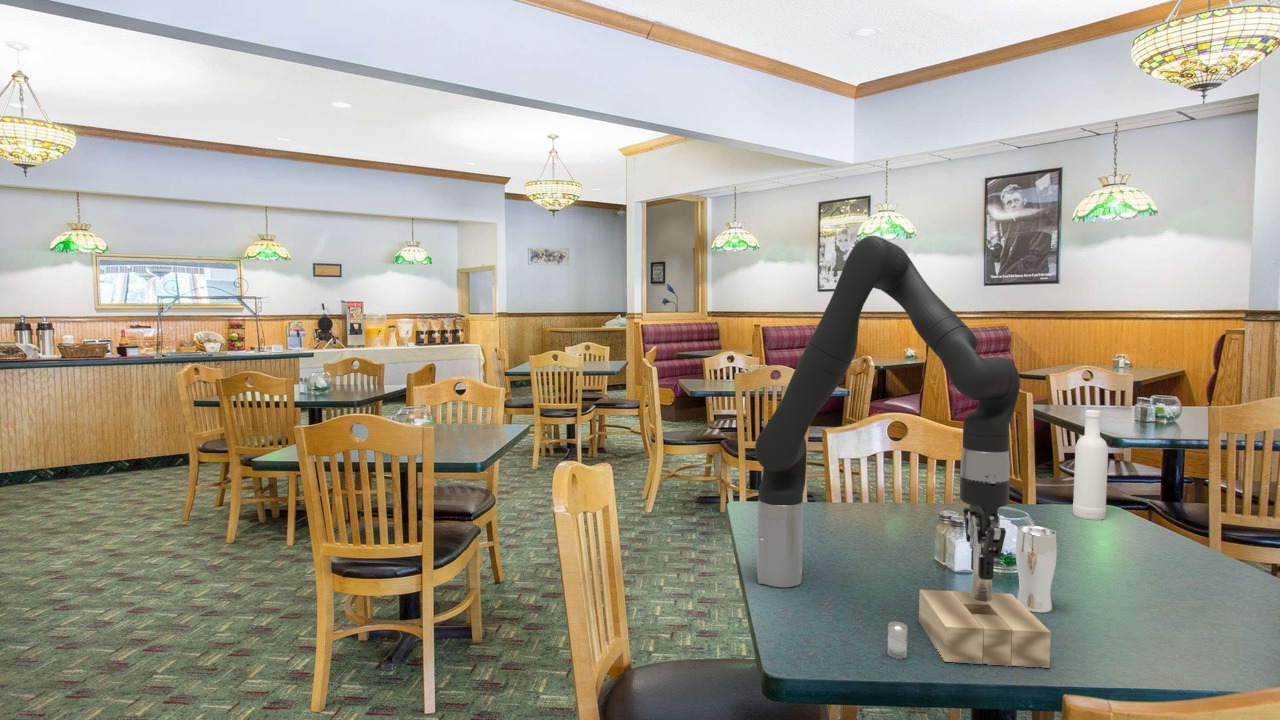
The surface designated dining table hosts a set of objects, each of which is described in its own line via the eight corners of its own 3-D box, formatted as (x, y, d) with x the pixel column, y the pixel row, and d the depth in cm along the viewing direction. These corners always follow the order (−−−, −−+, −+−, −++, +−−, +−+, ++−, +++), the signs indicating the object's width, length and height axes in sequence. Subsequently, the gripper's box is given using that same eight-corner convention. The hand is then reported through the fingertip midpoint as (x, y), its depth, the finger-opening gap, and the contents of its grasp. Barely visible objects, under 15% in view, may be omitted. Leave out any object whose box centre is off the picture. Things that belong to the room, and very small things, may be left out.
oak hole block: (944, 662, 117) (945, 626, 117) (918, 621, 133) (919, 589, 132) (1049, 668, 115) (1050, 632, 115) (1010, 626, 131) (1011, 593, 130)
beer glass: (1006, 600, 143) (1008, 525, 142) (1039, 598, 144) (1042, 524, 143) (1028, 614, 136) (1030, 536, 135) (1063, 613, 137) (1066, 535, 136)
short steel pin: (889, 658, 118) (890, 628, 118) (885, 650, 121) (886, 621, 121) (908, 659, 118) (909, 629, 118) (904, 651, 121) (904, 622, 121)
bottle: (1079, 519, 200) (1083, 411, 198) (1067, 512, 208) (1071, 408, 206) (1111, 520, 199) (1115, 412, 197) (1097, 513, 206) (1102, 408, 204)
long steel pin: (975, 601, 122) (977, 519, 121) (969, 594, 125) (971, 514, 124) (994, 602, 122) (996, 520, 121) (987, 595, 125) (990, 515, 124)
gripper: (948, 466, 130) (946, 560, 131) (975, 484, 116) (972, 589, 117) (992, 467, 129) (990, 562, 130) (1025, 485, 115) (1021, 591, 116)
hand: (982, 574), depth 123 cm, fingers closed on long steel pin, 3 cm apart
